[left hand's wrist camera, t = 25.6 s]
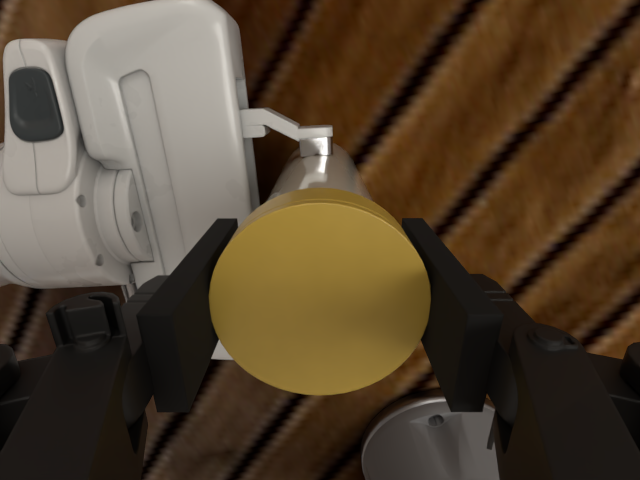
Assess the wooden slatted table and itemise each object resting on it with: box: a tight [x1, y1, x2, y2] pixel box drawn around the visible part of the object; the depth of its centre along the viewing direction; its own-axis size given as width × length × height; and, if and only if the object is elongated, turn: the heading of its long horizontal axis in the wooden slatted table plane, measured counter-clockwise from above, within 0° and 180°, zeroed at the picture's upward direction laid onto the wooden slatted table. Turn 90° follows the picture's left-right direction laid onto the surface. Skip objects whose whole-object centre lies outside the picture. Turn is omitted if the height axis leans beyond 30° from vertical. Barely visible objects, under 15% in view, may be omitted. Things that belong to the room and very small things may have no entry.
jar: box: [266, 143, 374, 202], centre depth 19 cm, size 6×5×17 cm
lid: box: [209, 187, 431, 395], centre depth 11 cm, size 6×6×2 cm
